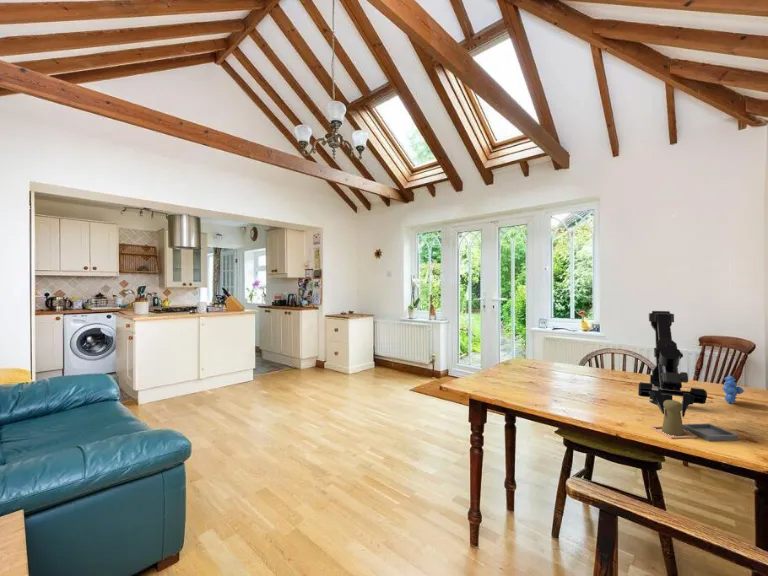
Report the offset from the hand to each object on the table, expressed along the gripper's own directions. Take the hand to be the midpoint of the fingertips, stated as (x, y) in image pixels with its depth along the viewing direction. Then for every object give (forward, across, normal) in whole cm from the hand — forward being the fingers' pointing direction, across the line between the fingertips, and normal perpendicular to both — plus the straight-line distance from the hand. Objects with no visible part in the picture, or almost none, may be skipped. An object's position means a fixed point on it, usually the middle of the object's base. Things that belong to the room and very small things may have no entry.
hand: (673, 414), depth 123 cm
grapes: (-31, +25, +40) cm, 57 cm away
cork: (+4, 0, +6) cm, 7 cm away
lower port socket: (0, +10, +9) cm, 14 cm away
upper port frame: (+4, 0, +6) cm, 7 cm away
